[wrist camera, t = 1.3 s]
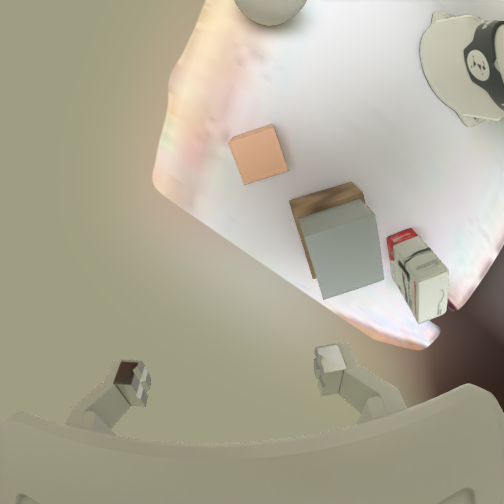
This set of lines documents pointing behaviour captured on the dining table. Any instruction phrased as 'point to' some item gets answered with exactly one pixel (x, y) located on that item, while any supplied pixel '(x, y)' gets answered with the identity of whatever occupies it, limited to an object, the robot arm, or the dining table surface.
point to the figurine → (270, 10)
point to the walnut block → (322, 207)
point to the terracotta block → (258, 154)
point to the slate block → (343, 247)
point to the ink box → (418, 275)
